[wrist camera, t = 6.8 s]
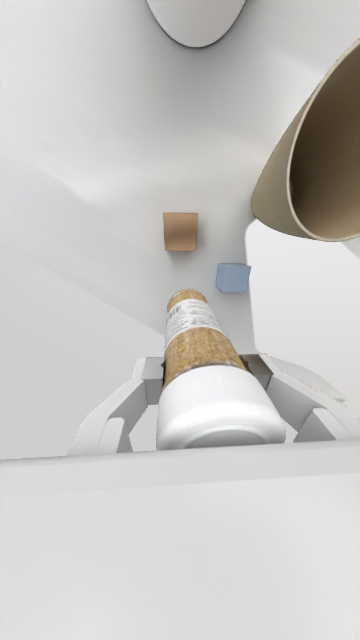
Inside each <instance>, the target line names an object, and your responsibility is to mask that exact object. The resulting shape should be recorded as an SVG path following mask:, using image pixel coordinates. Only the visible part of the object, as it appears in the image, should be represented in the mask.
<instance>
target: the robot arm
mask: <svg viewBox="0 0 360 640" xmlns="http://www.w3.org/2000/svg"><path fill="white" fill-rule="evenodd" d="M245 1H246V0H147V3H148V5H149V7H150V9H151V11H152V13H153V15H154V16H155V18H156V20H157V21H158V23H159V24H160V26H161V27H162V28H163V29H164V31H165V32H166V33H167V34H168V35H169V36H170V37H172V38H173V39H174V40H176V41H177V42H179V43H181V44H183V45H186V46H189V47H203V46H206V45H209V44H211V43H213V42H215V41H216V40H218V39H219V38H220V37H222V36H223V35H224V34H225V33H226V32H227V31H228V29H229V28H230V27H231V26H232V24H233V23H234V21H235V20H236V18H237V17H238V15H239V13H240V11H241V9H242V7H243V5H244V3H245ZM239 358H240V360H241V361H242V363H243V364H244V366H245V368H246V370H247V371H249V372H250V373H251V374H252V375H253V376H254V377H255V378H256V379H257V380H258V381H259V382H260V384H261V385H262V387H263V389H264V390H265V392H266V393H267V395H268V397H269V398H270V400H271V401H272V403H273V405H274V406H275V408H276V410H277V411H278V413H279V415H280V416H281V417H282V418H283V419H284V420H285V421H286V422H287V423H288V424H289V425H291V426H292V427H293V428H294V429H295V430H296V431H297V432H298V434H297V436H296V437H295V439H294V441H293V443H278V444H261V445H244V446H227V447H210V448H193V449H176V450H159V451H143V452H133V450H132V447H131V443H130V439H129V433H130V432H131V430H132V429H133V427H134V426H135V424H136V423H137V421H138V420H139V419H140V417H141V416H142V414H143V413H144V411H145V410H146V408H147V407H148V405H155V404H159V399H160V396H161V394H162V388H163V386H164V373H165V358H164V357H138V358H137V359H136V362H135V366H134V369H133V372H132V375H131V379H130V380H128V381H126V382H125V383H124V384H123V385H121V386H120V387H119V388H118V389H117V390H116V391H115V392H114V393H113V394H112V395H110V396H109V397H108V398H107V399H106V400H105V401H103V402H102V403H101V404H100V405H99V406H98V407H97V408H96V409H94V410H93V411H92V412H91V413H90V414H89V415H88V416H87V417H86V418H85V419H84V420H83V422H82V425H81V426H80V428H79V430H78V432H77V434H76V436H75V439H74V440H73V443H72V444H71V446H70V448H69V450H68V452H67V454H66V456H57V457H39V458H22V459H5V460H0V640H360V418H359V417H357V416H356V415H355V414H354V413H353V412H352V411H351V410H350V409H349V408H348V407H347V406H345V405H343V404H342V403H340V402H338V401H336V400H334V399H332V398H331V397H329V396H327V395H325V394H323V393H321V392H319V391H318V390H316V389H314V388H312V387H310V386H308V385H306V384H305V383H303V382H301V381H299V380H297V379H295V378H294V377H292V376H290V375H288V374H284V373H283V372H282V371H281V369H280V368H279V367H278V366H277V365H276V364H275V362H274V361H273V360H272V359H271V358H270V357H269V356H268V355H267V354H266V353H262V354H243V355H239Z"/></svg>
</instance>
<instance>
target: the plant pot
mask: <svg viewBox="0 0 360 640" xmlns="http://www.w3.org/2000/svg"><path fill="white" fill-rule="evenodd" d="M252 210H253V213H254V215H255V217H256V218H257V219H258V220H259V221H261V222H262V223H263V224H265V225H266V226H268V227H270V228H272V229H274V230H277V231H279V232H282V233H285V234H288V235H292V236H297V237H302V238H308V239H313V240H319V241H326V242H339V241H345V240H349V239H353V238H356V237H359V236H360V38H359V39H358V40H357V41H356V42H355V43H353V44H352V45H351V46H350V47H349V48H348V49H347V50H346V51H345V52H344V53H343V54H342V55H341V57H340V58H339V59H338V60H337V61H336V62H335V64H334V65H333V66H332V67H331V69H330V70H329V71H328V72H327V74H326V75H325V77H324V78H323V79H322V81H321V82H320V83H319V85H318V86H317V87H316V89H315V90H314V92H313V93H312V94H311V96H310V97H309V98H308V100H307V101H306V103H305V104H304V105H303V107H302V108H301V110H300V111H299V112H298V114H297V115H296V117H295V118H294V119H293V121H292V122H291V124H290V125H289V127H288V128H287V130H286V131H285V133H284V134H283V136H282V138H281V139H280V141H279V142H278V144H277V146H276V147H275V149H274V151H273V152H272V154H271V156H270V158H269V159H268V161H267V163H266V165H265V167H264V169H263V171H262V173H261V175H260V177H259V179H258V182H257V184H256V187H255V190H254V193H253V196H252Z"/></svg>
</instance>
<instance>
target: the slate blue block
mask: <svg viewBox="0 0 360 640" xmlns="http://www.w3.org/2000/svg"><path fill="white" fill-rule="evenodd" d="M250 270H251V267H250V266H247V265H244V264H218V270H217V279H216V287H217V288H218V289H219V290H220V291H221V292H246V289H247V285H248V280H249V275H250Z"/></svg>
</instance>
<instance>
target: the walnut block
mask: <svg viewBox="0 0 360 640" xmlns="http://www.w3.org/2000/svg"><path fill="white" fill-rule="evenodd" d="M163 218H164V241H165V251H196V243H197V219H198V213H163Z"/></svg>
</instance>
